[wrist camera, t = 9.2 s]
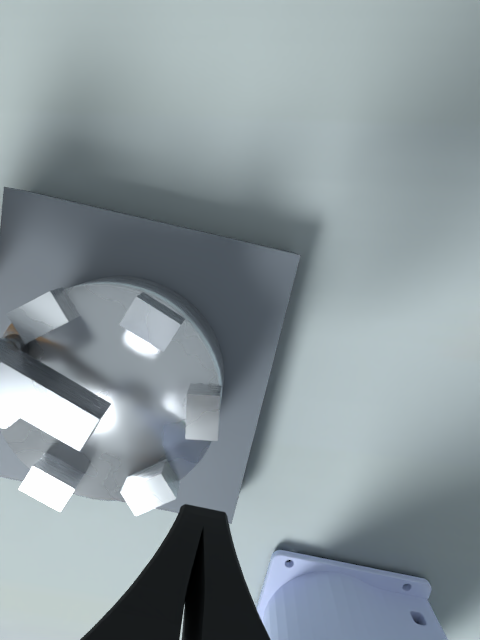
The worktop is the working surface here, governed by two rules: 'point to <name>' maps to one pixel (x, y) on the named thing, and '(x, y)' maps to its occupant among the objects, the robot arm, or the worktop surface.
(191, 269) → the base plate
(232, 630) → the robot arm
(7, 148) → the worktop surface
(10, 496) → the worktop surface
